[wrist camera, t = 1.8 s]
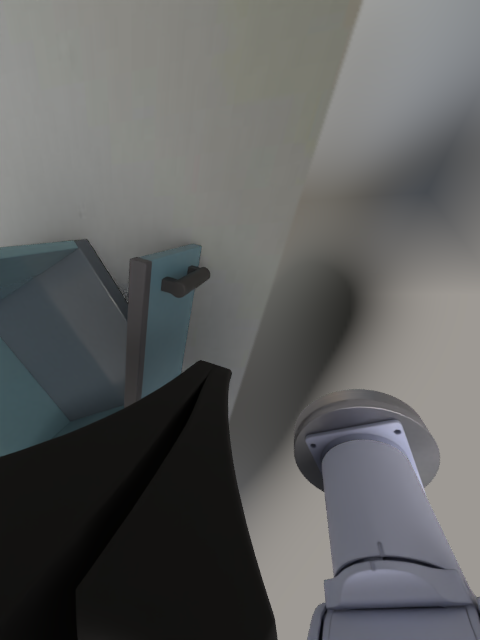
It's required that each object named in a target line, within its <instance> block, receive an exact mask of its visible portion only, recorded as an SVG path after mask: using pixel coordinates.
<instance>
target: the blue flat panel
mask: <svg viewBox="0 0 480 640" xmlns="http://www.w3.org/2000/svg"><path fill="white" fill-rule="evenodd" d="M200 253H201V246H200V245H196V244H190V245H186V246H182V247H178V248H174V249H170V250H166V251H162V252H158V253H154V254H150V255H146V256H142V257H135V258H131V259H130V268H129V293H128V319H127V344H126V369H125V395H124V408H125V407H127V406H129V405H131V404H133V403H135V402H136V401H138V400H140V399H142V398H143V397H145V396H147V395H149V394H150V393H152V392H154V391H155V390H157V389H159V388H160V387H162V386H163V385H165V384H167V383H168V382H170V381H171V380H173V379H174V378H176V377H177V376H179V375H180V374H181V370H182V363H183V357H184V351H185V345H186V339H187V333H188V327H189V320H190V314H191V308H192V302H193V296H194V290H195V288H197V287H198V286H199V285H201V284H202V283H204V282H205V281H207V280H208V279H209V278H210V272H209V270H208V269H207V268H205V267H201V268H199V267H198V265H199V259H200Z"/></svg>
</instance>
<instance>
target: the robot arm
mask: <svg viewBox="0 0 480 640" xmlns="http://www.w3.org/2000/svg"><path fill="white" fill-rule="evenodd" d="M231 375H232V372H231V370H230V369H227V368H224V367H221V366H218V365H214V364H211V363H208V362H205V361H202V360H200V361H198V362H196V363H195V364H194V365H192V366H191V367H190V368H188V369H187V370H186V371H184V372H183V373H181V374H180V375H179V376H177V377H176V378H174V379H173V380H171V381H170V382H168V383H167V384H165V385H163V386H162V387H160V388H159V389H157V390H155V391H154V392H152V393H150V394H149V395H147V396H145V397H143V398H142V399H140V400H138V401H136V402H135V403H133V404H131V405H129V406H127V407H125V408H123V409H121V410H119V411H117V412H115V413H113V414H111V415H109V416H107V417H105V418H102V419H100V420H98V421H96V422H93V423H91V424H89V425H86V426H84V427H82V428H79V429H77V430H74V431H72V432H70V433H67V434H64V435H62V436H59V437H56V438H53V439H51V440H48V441H45V442H42V443H40V444H37V445H34V446H31V447H28V448H26V449H23V450H20V451H17V452H14V453H11V454H7V455H4V456H1V457H0V640H277V632H276V625H275V618H274V615H273V611H272V608H271V605H270V602H269V599H268V596H267V593H266V589H265V586H264V583H263V580H262V577H261V574H260V570H259V567H258V563H257V560H256V557H255V553H254V550H253V546H252V542H251V539H250V535H249V531H248V528H247V524H246V520H245V516H244V512H243V507H242V503H241V499H240V494H239V490H238V486H237V481H236V475H235V470H234V464H233V458H232V451H231V444H230V434H229V422H228V390H229V382H230V379H231ZM395 430H397V431H395ZM305 441H306V444H307V446H308V448H309V450H310V452H311V454H312V456H313V458H314V460H315V462H316V464H317V466H318V468H319V470H320V472H321V474H322V476H323V483H324V492H325V501H326V510H327V519H328V528H329V537H330V546H331V555H332V564H333V573H334V578H332V579H328V580H324V589H325V601H326V603H322V604H320V605H318V606H317V608H316V609H315V611H314V614H313V616H312V620H311V624H310V629H309V633H308V638H307V640H480V597H476V596H475V594H474V593H473V592H472V590H471V589H470V587H469V585H468V583H467V581H466V579H465V577H464V575H463V572H462V570H461V568H460V566H459V564H458V562H457V560H456V558H455V556H454V554H453V552H452V549H451V547H450V545H449V543H448V541H447V539H446V537H445V535H444V533H443V530H442V528H441V526H440V524H439V522H438V520H437V518H436V516H435V514H434V512H433V509H432V507H431V505H430V503H429V501H428V499H427V496H426V493H425V491H424V487H423V484H422V481H421V479H420V476H419V473H418V470H417V467H416V464H415V461H414V458H413V455H412V452H411V450H410V447H409V444H408V441H407V438H406V435H405V432H404V429H403V426H402V424H401V422H400V421H398V420H395V419H394V420H387V421H382V422H376V423H371V424H365V425H360V426H354V427H349V428H343V429H338V430H332V431H326V432H321V433H315V434H310V435H307V436H306V437H305Z"/></svg>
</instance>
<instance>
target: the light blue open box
mask: <svg viewBox="0 0 480 640" xmlns="http://www.w3.org/2000/svg"><path fill="white" fill-rule="evenodd" d="M127 319H128V303H127V302H126V300H125V299H124V297H123V295H122V294H121V292H120V291H119V289H118V287H117V286H116V284H115V283H114V281H113V280H112V278H111V276H110V275H109V273H108V272H107V270H106V269H105V267H104V265H103V264H102V262H101V261H100V259H99V257H98V256H97V254H96V253H95V251H94V250H93V248H92V246H91V245H90V243H89V242H88V240H87V239H84V240H74V241H62V242H52V243H42V244H31V245H21V246H11V247H1V248H0V457H1V456H4V455H7V454H11V453H14V452H17V451H20V450H23V449H26V448H28V447H31V446H34V445H37V444H40V443H42V442H45V441H48V440H51V439H53V438H56V437H59V436H62V435H64V434H67V433H70V432H72V431H74V430H77V429H79V428H82V427H84V426H86V425H89V424H91V423H93V422H96V421H98V420H100V419H102V418H105V417H107V416H109V415H111V414H113V413H115V412H117V411H119V410H121V409H123V408H124V395H125V369H126V344H127Z"/></svg>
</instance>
